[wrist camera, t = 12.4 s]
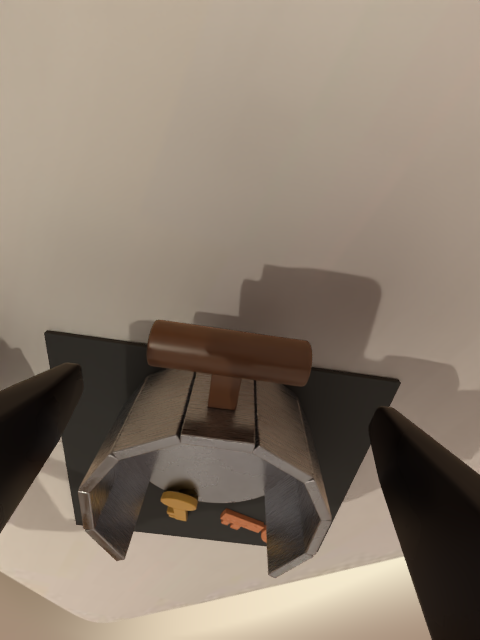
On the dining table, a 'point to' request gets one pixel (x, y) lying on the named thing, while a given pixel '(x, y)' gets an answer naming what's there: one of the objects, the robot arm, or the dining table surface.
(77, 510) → the mat
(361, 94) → the dining table surface
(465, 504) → the robot arm
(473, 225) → the dining table surface
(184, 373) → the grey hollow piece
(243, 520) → the copper key
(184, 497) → the brass key
